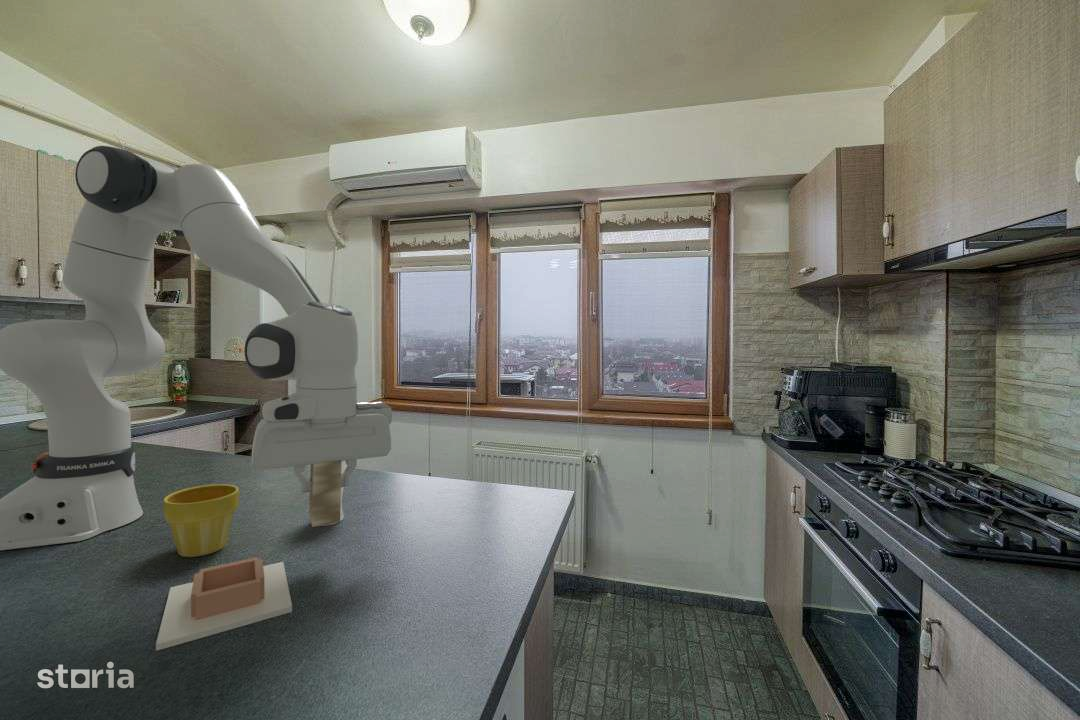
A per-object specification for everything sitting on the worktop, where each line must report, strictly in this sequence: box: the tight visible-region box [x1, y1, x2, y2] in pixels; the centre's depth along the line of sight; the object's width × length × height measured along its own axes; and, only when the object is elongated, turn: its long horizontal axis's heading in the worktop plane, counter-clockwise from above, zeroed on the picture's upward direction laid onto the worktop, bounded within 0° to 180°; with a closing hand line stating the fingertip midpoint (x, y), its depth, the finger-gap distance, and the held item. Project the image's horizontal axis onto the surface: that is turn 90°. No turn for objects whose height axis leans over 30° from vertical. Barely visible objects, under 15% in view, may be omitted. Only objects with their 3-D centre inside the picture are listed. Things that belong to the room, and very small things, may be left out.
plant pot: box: [162, 483, 240, 558], centre depth 76 cm, size 10×10×10 cm
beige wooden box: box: [308, 460, 342, 528], centre depth 71 cm, size 4×4×10 cm
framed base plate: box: [155, 556, 293, 651], centre depth 61 cm, size 14×14×4 cm
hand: (325, 488), depth 71 cm, fingers closed on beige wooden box, 4 cm apart
